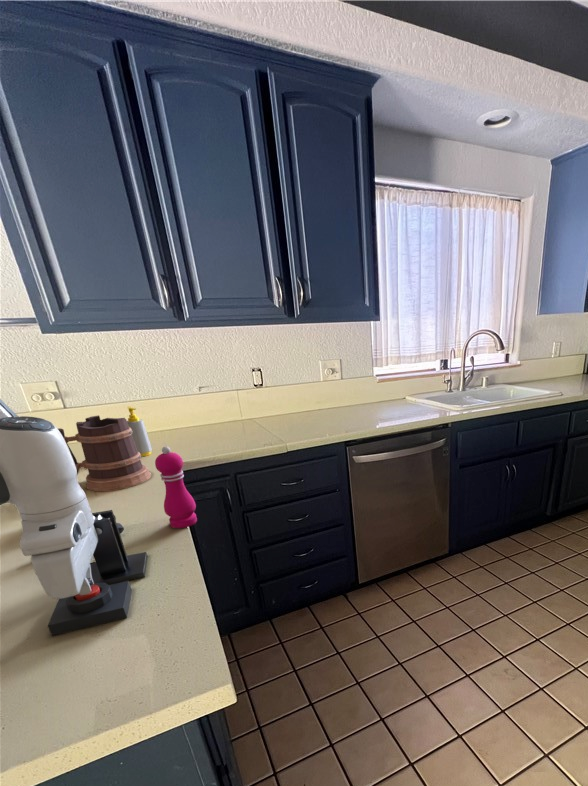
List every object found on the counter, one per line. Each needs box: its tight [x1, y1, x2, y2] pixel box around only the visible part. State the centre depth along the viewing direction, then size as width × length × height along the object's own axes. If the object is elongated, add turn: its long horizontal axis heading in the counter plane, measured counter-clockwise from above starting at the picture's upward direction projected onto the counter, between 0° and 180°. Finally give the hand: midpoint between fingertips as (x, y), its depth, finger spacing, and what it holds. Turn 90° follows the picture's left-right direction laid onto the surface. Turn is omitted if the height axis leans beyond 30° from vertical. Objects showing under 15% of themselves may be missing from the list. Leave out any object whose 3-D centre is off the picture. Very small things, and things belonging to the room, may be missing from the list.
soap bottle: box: [126, 406, 153, 458], centre depth 159 cm, size 7×7×18 cm
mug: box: [57, 415, 152, 492], centre depth 132 cm, size 18×23×20 cm
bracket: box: [90, 509, 149, 585], centre depth 85 cm, size 11×9×13 cm
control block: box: [47, 580, 133, 637], centre depth 75 cm, size 11×9×4 cm
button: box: [75, 585, 101, 601], centre depth 75 cm, size 4×4×2 cm
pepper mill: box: [154, 445, 198, 529], centre depth 104 cm, size 7×7×20 cm
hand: (87, 590), depth 74 cm, fingers closed, pressing on button
